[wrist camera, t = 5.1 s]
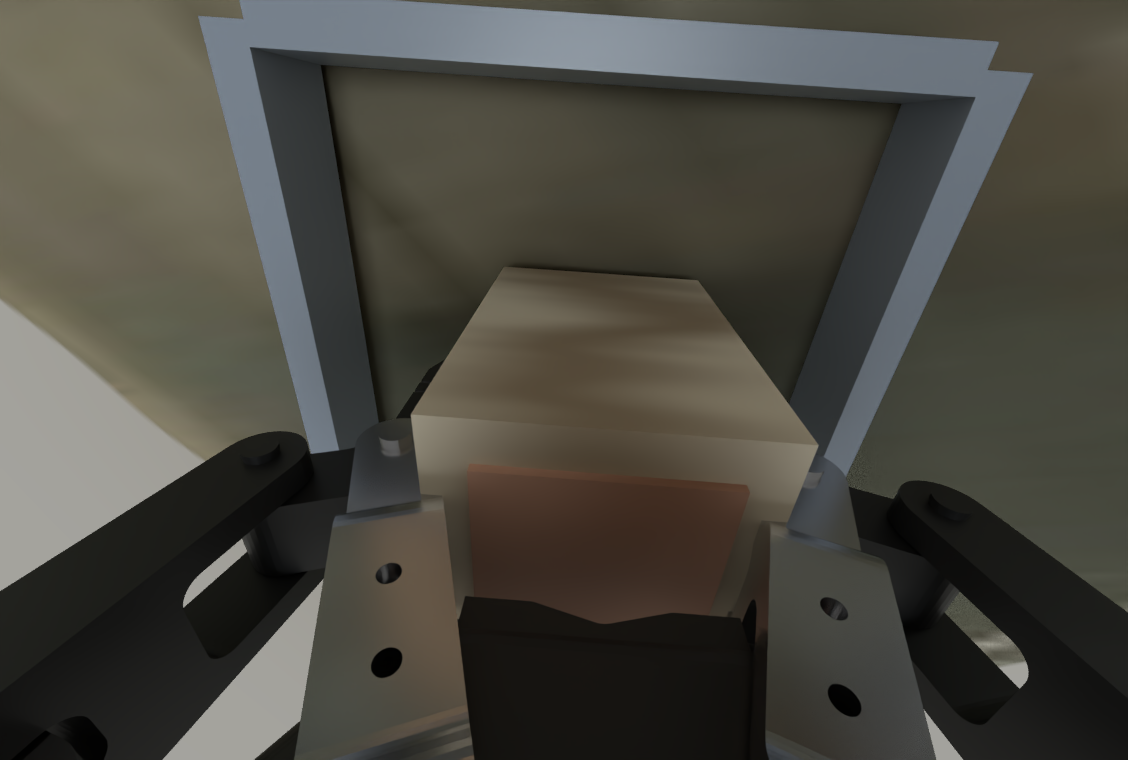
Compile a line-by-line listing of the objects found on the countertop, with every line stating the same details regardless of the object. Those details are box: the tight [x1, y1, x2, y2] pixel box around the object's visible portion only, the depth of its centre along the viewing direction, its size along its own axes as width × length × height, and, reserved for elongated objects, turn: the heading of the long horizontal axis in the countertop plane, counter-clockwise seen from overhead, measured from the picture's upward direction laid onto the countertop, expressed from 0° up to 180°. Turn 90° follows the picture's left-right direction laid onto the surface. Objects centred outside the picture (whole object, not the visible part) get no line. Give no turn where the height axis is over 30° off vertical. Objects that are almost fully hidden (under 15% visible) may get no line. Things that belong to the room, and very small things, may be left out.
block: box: [411, 267, 819, 624], centre depth 10 cm, size 5×5×7 cm
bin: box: [198, 0, 1033, 477], centre depth 12 cm, size 15×15×2 cm
